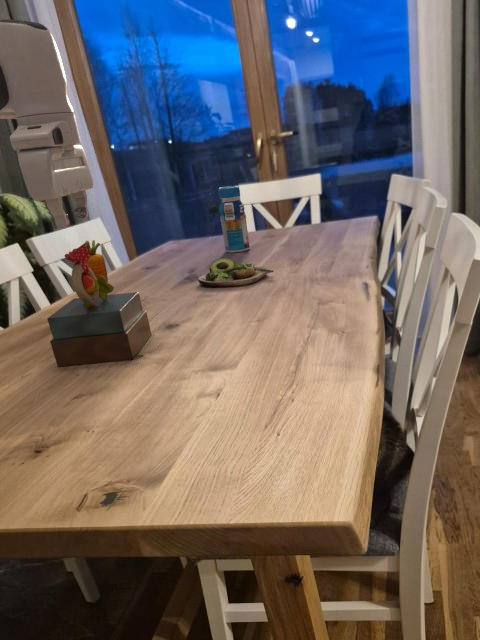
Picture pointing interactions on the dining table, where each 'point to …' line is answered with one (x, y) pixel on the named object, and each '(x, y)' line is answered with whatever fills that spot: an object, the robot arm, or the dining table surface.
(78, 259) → the bird rattle
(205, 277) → the salad plate
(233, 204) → the blue canister
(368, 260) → the dining table surface
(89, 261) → the carrot
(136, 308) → the block stack
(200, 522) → the dining table surface
